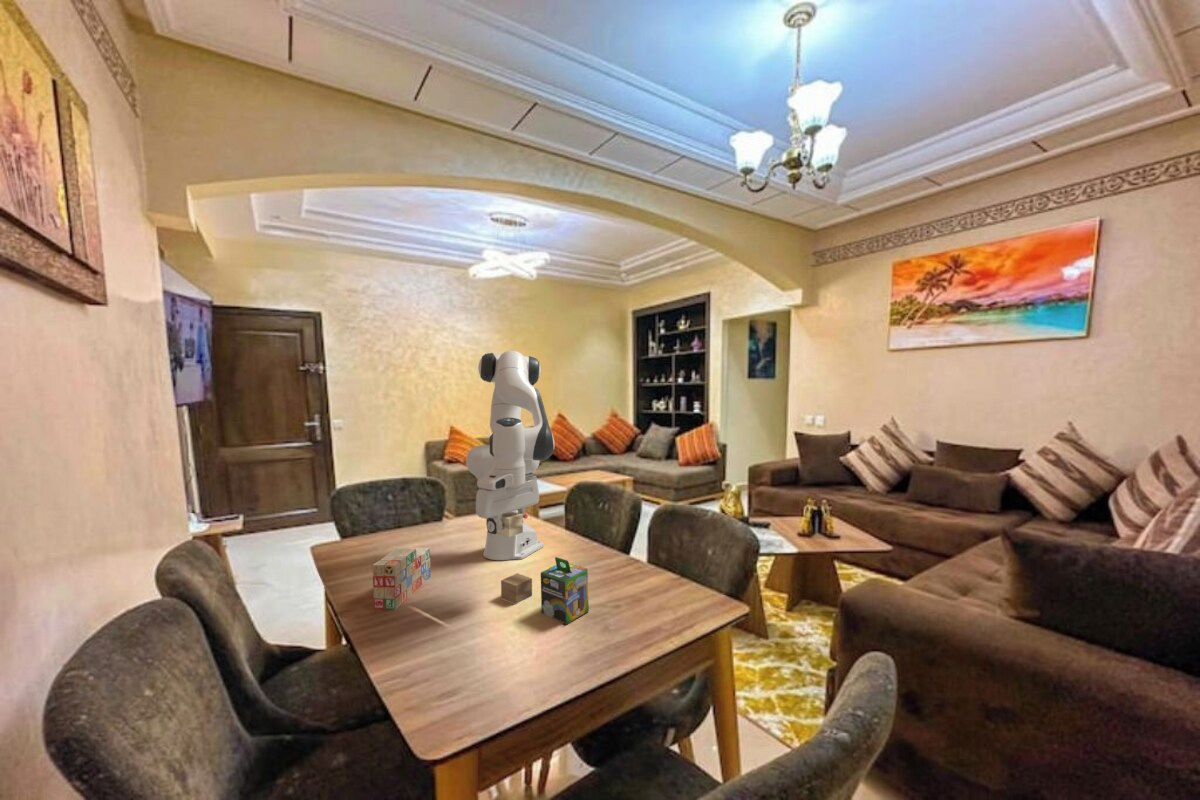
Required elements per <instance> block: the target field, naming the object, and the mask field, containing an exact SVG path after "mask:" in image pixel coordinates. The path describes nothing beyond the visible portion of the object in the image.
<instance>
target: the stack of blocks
mask: <svg viewBox="0 0 1200 800" xmlns="http://www.w3.org/2000/svg"><path fill="white" fill-rule="evenodd" d="M430 553H431V550H430V547H410V548H395V549H393V550H392V551H391V552H389V553H388V554H387V555H385V556H384V557H382V558H381V559H380V560H378V561H377V562H375V563H373V564H372V565H373V566H372V573H373V575H372V584H373V585H372V586H373V588H372V589H373V609H374V610H397V608H398V607H400V606H401V605H403V604H404V603H405V602H406V600H408V599H409V598H410V597H411V596H412V595H413V594H414V593H415V592H416V591H417V590H418V589H419V588H420V587H421V586H423V584H424V583H425V582H426V581H428V579H429V578H430V577H431V554H430Z"/></svg>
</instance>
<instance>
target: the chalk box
mask: <svg viewBox="0 0 1200 800" xmlns="http://www.w3.org/2000/svg"><path fill="white" fill-rule="evenodd" d="M554 559H555V563H556V564H555V565H553V566H550V567H549V568H548V569H546V570H542V571H541V572H540V600H541V602H540V604H541V606H540V607H541V610H540V611H541V613H542V614H544V615H546V616H548V617H550V618H553V619H555V620H558V621H559V622H562V623H563V625H564V626H568V624H569V623H570V624H571V623H572V622H573V621H575V620H576V619H578V618H580V617H581V616H583V615H584V614H586V613H587V612H589V611H590V607H589V579H588V577H589V572H588V568H587V567H586V568H585V567H582V566H581V565H576V564H572V563H570V562H569V560H568V559H563V558H561V557H557V556H555V557H554Z"/></svg>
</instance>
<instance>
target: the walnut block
mask: <svg viewBox="0 0 1200 800" xmlns="http://www.w3.org/2000/svg"><path fill="white" fill-rule="evenodd" d="M500 593H501V595H500V599H501V598H502V599H501V600H503V599H505V600H504V601H506V600H507V601H506V602H508V601H510V602H509V603H511V602H512V603H511V604H513V603H515V604H514V605H516V604H517V603H519V602H521V601H522V602H524V601H526V600H528V599H530V598H532V597H533V578H532V577H529V576H526V575H524V574H520V573H518V572H517V573H514V574H512V575H510V576H508V577H506V578H503V579H501V580H500ZM531 596H532V597H531ZM529 597H530V598H529ZM527 598H528V599H527ZM525 599H526V600H525ZM523 600H524V601H523ZM522 602H521V603H522ZM519 604H520V603H519ZM517 605H518V604H517Z"/></svg>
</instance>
